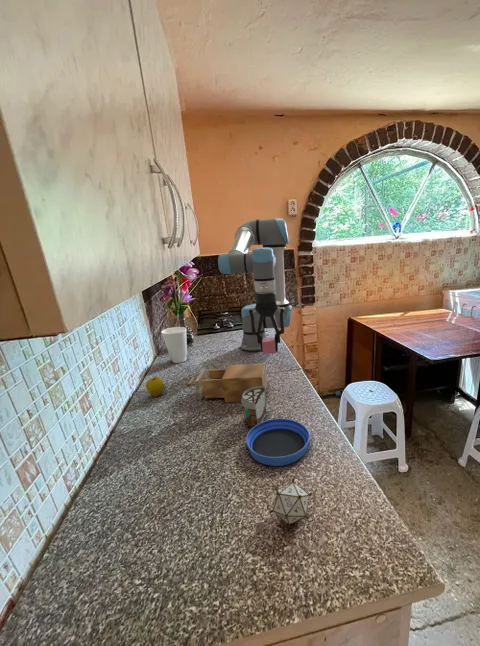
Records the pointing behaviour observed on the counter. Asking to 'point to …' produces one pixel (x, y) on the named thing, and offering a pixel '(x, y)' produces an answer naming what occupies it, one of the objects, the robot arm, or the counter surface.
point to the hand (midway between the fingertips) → (269, 350)
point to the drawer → (209, 384)
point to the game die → (291, 503)
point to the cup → (176, 343)
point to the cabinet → (242, 380)
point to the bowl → (278, 441)
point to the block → (268, 345)
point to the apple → (155, 386)
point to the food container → (254, 405)
